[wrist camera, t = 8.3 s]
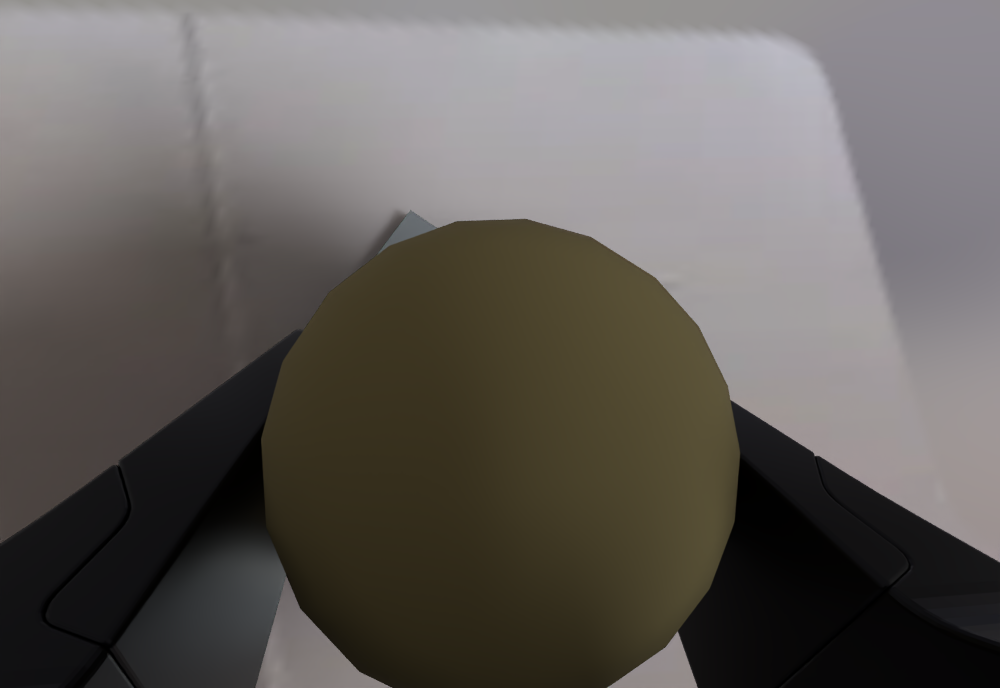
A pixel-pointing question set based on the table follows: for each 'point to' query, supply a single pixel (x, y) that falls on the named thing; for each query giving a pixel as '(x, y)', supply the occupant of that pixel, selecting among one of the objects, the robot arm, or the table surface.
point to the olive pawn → (500, 462)
